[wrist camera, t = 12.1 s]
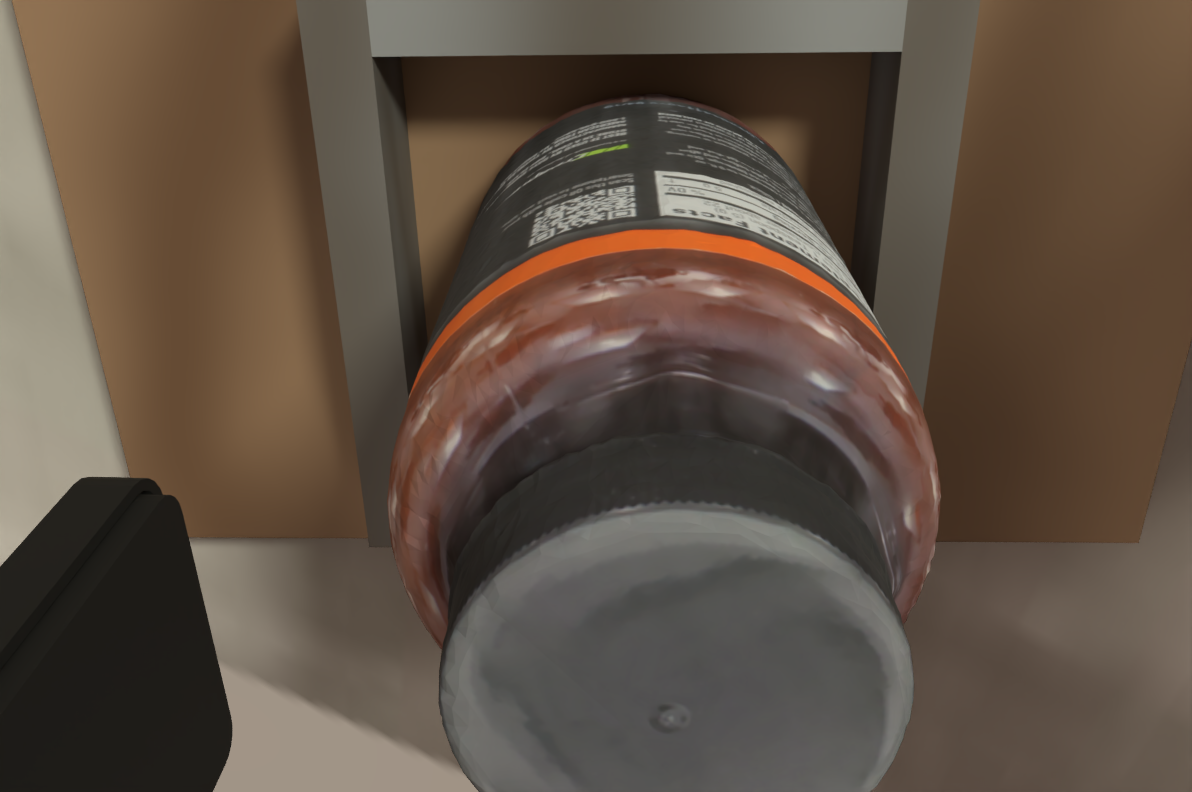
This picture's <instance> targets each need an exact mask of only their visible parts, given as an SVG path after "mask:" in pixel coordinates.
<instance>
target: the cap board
mask: <svg viewBox="0 0 1192 792" xmlns="http://www.w3.org/2000/svg"><path fill="white" fill-rule="evenodd" d="M12 3H13V7H14V11H15V15H16V19H17V23H18V27H19V31H20V35H21V39H22V43H23V47H24V51H25V55H26V59H27V63H28V67H29V71H30V75H31V79H32V83H33V87H34V91H35V95H36V99H37V103H38V107H39V111H40V115H41V119H42V123H43V127H44V131H45V136H46V140H47V144H48V148H49V152H50V156H51V160H52V164H53V168H54V172H55V176H56V180H57V184H58V188H59V192H60V196H61V200H62V204H63V208H64V212H65V216H66V220H67V224H68V228H69V232H70V236H71V240H72V244H73V248H74V252H75V256H76V260H77V264H78V268H79V272H80V276H81V281H82V285H83V289H84V293H85V297H86V301H87V305H88V309H89V313H90V317H91V321H92V325H93V329H94V333H95V337H96V341H97V345H98V349H99V353H100V357H101V361H102V365H103V369H104V373H105V377H106V381H107V385H108V389H109V393H110V397H111V401H112V405H113V409H114V413H115V417H116V421H117V425H118V430H119V434H120V438H121V442H122V446H123V450H124V454H125V458H126V462H127V466H128V470H129V474H130V478H149V479H151V480H153V481H155V482H156V483H157V485H158V486H159V487H160V489H161V491H162V494H163V495H172V496H174V497H176V499H177V500H178V502H179V503H180V506H181V509H182V512H183V516H184V521H185V525H186V529H187V533H188V537H247V538H368V541H369V547H392V545H391V539H390V529H389V518H388V506H387V496H388V487H389V477H390V466H391V461H392V456H393V451H394V447H395V443H396V439H397V435H398V431H399V428H400V425H401V422H402V420H403V417H404V414H405V411H406V407H407V403H408V399H409V395H410V393H411V390H412V387H413V385H414V382H415V379H416V377H417V374H418V372H419V369H420V366H421V362H422V359H423V356H424V353H425V351H426V348H427V346H428V343H429V341H430V338H431V335H432V332H433V330H434V327H435V325H436V322H437V320H438V317H439V314H440V312H441V309H442V306H443V304H444V301H445V299H446V296H447V293H448V291H449V288H450V285H451V283H452V280H453V277H454V274H455V272H456V270H457V267H458V265H459V262H460V259H461V256H462V254H463V251H464V249H465V245H466V242H467V240H468V236H469V233H470V231H471V228H472V226H473V224H474V221H475V219H476V216H477V214H478V211H479V209H480V206H481V203H482V201H483V199H484V197H485V195H486V193H487V192H488V190H489V188H490V187H491V185H492V183H493V181H494V180H495V178H496V176H497V174H498V173H499V171H500V170H501V169H502V168H503V166H504V165H505V164H506V162H507V161H508V159H509V158H510V157H511V156H512V154H513V153H514V152H515V150H516V149H517V148H518V147H519V146H521V145H522V144H523V143H524V142H525V141H526V140H527V139H529V138H530V137H531V136H533V135H534V134H535V133H536V132H537V131H538V130H539V129H540V128H542V127H543V126H545V125H547V124H549V123H550V122H552V121H554V120H555V119H557V118H559V117H560V116H562V115H563V114H565V113H567V112H569V111H571V110H573V109H576V108H579V107H582V106H584V105H587V104H590V103H594V102H597V101H599V100H602V99H608V98H613V97H618V96H625V95H642V94H653V93H658V94H663V95H670V96H677V97H683V98H687V99H689V100H693V101H698V102H701V103H703V104H705V105H708V106H711V107H714V108H716V109H719V110H721V111H724V112H726V113H728V114H730V115H731V116H733V117H735V118H737V119H738V120H740V121H741V122H743V123H744V124H745V125H747V126H748V127H750V128H752V129H753V130H754V131H755V132H756V133H757V134H758V135H759V136H761V137H762V138H763V139H764V140H765V141H766V142H768V143H769V144H770V145H771V146H772V147H773V148H774V149H775V150H776V152H777V153H778V154H779V155H780V156H781V157H782V159H783V160H784V161H785V162H786V164H787V165H788V166H789V167H790V169H791V170H792V171H793V172H794V174H795V176H796V178H797V179H798V181H799V182H800V184H801V186H802V188H803V189H804V191H805V193H806V195H807V197H808V199H809V200H810V202H811V204H812V206H813V207H814V209H815V211H816V213H817V215H818V217H819V219H820V220H821V222H822V224H823V225H824V227H825V229H826V231H827V232H828V234H829V236H830V238H831V240H832V242H833V244H834V246H835V247H836V249H837V251H838V253H839V254H840V256H841V258H842V259H843V261H844V262H845V264H846V266H847V269H848V271H849V272H850V274H851V276H852V277H853V279H854V281H855V283H856V284H857V286H858V288H859V289H860V291H861V293H862V295H863V297H864V299H865V300H866V302H867V304H868V306H869V308H870V309H871V311H872V313H873V315H874V316H875V318H876V320H877V322H878V324H879V326H880V327H881V329H882V331H883V333H884V334H885V336H886V337H887V339H888V341H889V343H890V345H891V348H892V350H893V352H894V353H895V355H896V356H897V358H898V361H899V363H900V365H901V367H902V368H903V370H904V372H905V373H906V375H907V377H908V379H909V381H910V383H911V386H912V388H913V390H914V392H915V394H916V396H917V398H918V400H919V403H920V405H921V407H922V410H923V414H924V417H925V420H926V422H927V425H928V428H929V432H930V436H931V440H932V444H933V448H934V452H935V456H936V460H937V466H938V476H939V481H940V490H941V498H940V514H939V524H938V532H937V536H936V541H935V542H1107V543H1139V540H1140V536H1141V532H1142V528H1143V524H1144V520H1145V516H1146V513H1147V509H1148V505H1149V501H1150V497H1151V493H1152V490H1153V486H1154V482H1155V478H1156V474H1157V470H1158V467H1159V463H1160V459H1161V455H1162V451H1163V447H1164V443H1165V440H1166V436H1167V432H1168V428H1169V424H1170V420H1171V417H1172V413H1173V409H1174V405H1175V401H1176V397H1177V393H1178V390H1179V386H1180V382H1181V378H1182V374H1183V370H1184V367H1185V363H1186V359H1187V355H1188V351H1189V347H1190V343H1191V340H1192V0H12Z"/></svg>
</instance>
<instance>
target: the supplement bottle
mask: <svg viewBox="0 0 1192 792" xmlns="http://www.w3.org/2000/svg"><path fill="white" fill-rule="evenodd" d="M940 498H941V490H940V481H939V476H938V466H937V460H936V456H935V452H934V448H933V444H932V440H931V436H930V432H929V428H928V425H927V422H926V420H925V417H924V414H923V410H922V407H921V405H920V403H919V400H918V398H917V396H916V394H915V392H914V390H913V388H912V386H911V383H910V381H909V379H908V377H907V375H906V373H905V372H904V370H903V368H902V367H901V365H900V363H899V361H898V358H897V356H896V355H895V353H894V352H893V350H892V348H891V345H890V343H889V341H888V339H887V337H886V336H885V334H884V333H883V331H882V329H881V327H880V326H879V324H878V322H877V320H876V318H875V316H874V315H873V313H872V311H871V309H870V308H869V306H868V304H867V302H866V300H865V299H864V297H863V295H862V293H861V291H860V289H859V288H858V286H857V284H856V283H855V281H854V279H853V277H852V276H851V274H850V272H849V271H848V269H847V266H846V264H845V262H844V261H843V259H842V258H841V256H840V254H839V253H838V251H837V249H836V247H835V246H834V244H833V242H832V240H831V238H830V236H829V234H828V232H827V231H826V229H825V227H824V225H823V224H822V222H821V220H820V219H819V217H818V215H817V213H816V211H815V209H814V207H813V206H812V204H811V202H810V200H809V199H808V197H807V195H806V193H805V191H804V189H803V188H802V186H801V184H800V182H799V181H798V179H797V178H796V176H795V174H794V172H793V171H792V170H791V169H790V167H789V166H788V165H787V164H786V162H785V161H784V160H783V159H782V157H781V156H780V155H779V154H778V153H777V152H776V150H775V149H774V148H773V147H772V146H771V145H770V144H769V143H768V142H766V141H765V140H764V139H763V138H762V137H761V136H759V135H758V134H757V133H756V132H755V131H754V130H753V129H752V128H750V127H748V126H747V125H745V124H744V123H743V122H741V121H740V120H738V119H737V118H735V117H733V116H731V115H730V114H728V113H726V112H724V111H721V110H719V109H716V108H714V107H711V106H708V105H705V104H703V103H701V102H698V101H693V100H689V99H687V98H683V97H677V96H670V95H663V94H658V93H653V94H642V95H625V96H618V97H613V98H608V99H602V100H599V101H597V102H594V103H590V104H587V105H584V106H582V107H579V108H576V109H573V110H571V111H569V112H567V113H565V114H563V115H562V116H560V117H559V118H557V119H555V120H554V121H552V122H550V123H549V124H547V125H545V126H543V127H542V128H540V129H539V130H538V131H537V132H536V133H535V134H534V135H533V136H531V137H530V138H529V139H527V140H526V141H525V142H524V143H523V144H522V145H521V146H519V147H518V148H517V149H516V150H515V152H514V153H513V154H512V156H511V157H510V158H509V159H508V161H507V162H506V164H505V165H504V166H503V168H502V169H501V170H500V171H499V173H498V174H497V176H496V178H495V180H494V181H493V183H492V185H491V187H490V188H489V190H488V192H487V193H486V195H485V197H484V199H483V201H482V203H481V206H480V209H479V211H478V214H477V216H476V219H475V221H474V224H473V226H472V228H471V231H470V233H469V236H468V240H467V242H466V245H465V249H464V251H463V254H462V256H461V259H460V262H459V265H458V267H457V270H456V272H455V274H454V277H453V280H452V283H451V285H450V288H449V291H448V293H447V296H446V299H445V301H444V304H443V306H442V309H441V312H440V314H439V317H438V320H437V322H436V325H435V327H434V330H433V332H432V335H431V338H430V341H429V343H428V346H427V348H426V351H425V353H424V356H423V359H422V362H421V366H420V369H419V372H418V374H417V377H416V379H415V382H414V385H413V387H412V390H411V393H410V395H409V399H408V403H407V407H406V411H405V414H404V417H403V420H402V422H401V425H400V428H399V431H398V435H397V439H396V443H395V447H394V451H393V456H392V461H391V466H390V477H389V487H388V496H387V506H388V518H389V529H390V539H391V545H392V549H393V553H394V557H395V560H396V564H397V567H398V571H399V574H400V576H401V579H402V581H403V584H404V587H405V589H406V592H407V594H408V596H409V598H410V600H411V602H412V604H413V606H414V609H415V610H416V612H417V614H418V615H419V617H420V619H421V620H422V622H423V624H424V626H425V627H426V629H427V630H428V632H429V633H430V634H431V636H432V637H433V639H434V640H435V642H436V643H437V644H438V645H439V647H440V648H441V649H442V655H441V662H440V670H439V707H440V714H441V716H442V722H443V727H444V730H445V732H446V735H447V738H448V741H449V744H450V746H451V749H452V752H453V754H454V756H455V757H456V759H457V761H458V763H459V765H460V767H461V769H462V771H463V772H464V774H465V775H466V776H467V778H468V779H469V780H470V781H471V783H472V784H473V785H474V786H475V788H476V789H477V790H478V791H479V792H871V791H872V790H873V789H874V788H875V787H876V786H877V785H878V783H879V782H880V781H881V779H882V778H883V776H884V775H885V773H886V772H887V770H888V769H889V767H890V766H891V764H892V762H893V760H894V758H895V756H896V753H897V751H898V749H899V747H900V744H901V742H902V740H903V737H904V734H905V730H906V726H907V724H908V722H909V721H910V716H911V707H912V703H913V695H914V680H913V665H912V658H911V651H910V645H909V642H908V640H907V637H906V634H905V631H904V628H903V624H904V623H905V622H906V620H907V616H908V614H909V612H910V610H911V609H912V607H913V606H914V605H915V604H916V601H917V599H918V596H919V594H920V592H921V590H922V587H923V583H924V581H925V578H926V576H927V574H928V572H929V571H930V564H931V560H932V558H933V556H934V553H935V541H936V536H937V532H938V524H939V514H940Z"/></svg>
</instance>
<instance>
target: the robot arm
mask: <svg viewBox="0 0 1192 792" xmlns="http://www.w3.org/2000/svg"><path fill="white" fill-rule="evenodd" d="M231 741H232V720H231V715H230V710H229V707H228V702H227V698H226V694H225V689H224V685H223V681H222V677H221V672H220V668H219V664H218V660H217V656H216V651H215V647H214V643H213V639H212V634H211V630H210V626H209V622H208V618H207V613H206V609H205V605H204V601H203V596H202V592H201V588H200V584H199V580H198V575H197V571H196V567H195V563H194V559H193V554H192V550H191V546H190V542H189V537H188V533H187V529H186V525H185V521H184V516H183V512H182V509H181V506H180V503H179V502H178V500H177V499H176V497H174V496H172V495H163V494H162V491H161V489H160V487H159V486H158V485H157V483H156V482H155V481H153V480H151V479H149V478H121V477H86V478H81V479H80V480H79V481H78V482H76V483H75V484H74V485H73V486H72V487H71V488H70V489H69V490H68V491H67V493H66V494H65V495H64V496H63V497H62V498H61V499H60V500H59V502H58V503H57V504H56V505H55V506H54V507H53V508H52V509H51V510H50V512H49V513H48V514H47V515H46V516H45V517H44V518H43V519H42V521H41V522H40V523H39V524H38V525H37V526H36V527H35V528H34V530H33V531H32V532H31V533H30V534H29V535H28V536H27V537H26V539H25V540H24V541H23V542H22V543H21V544H20V545H19V546H18V547H17V549H16V550H15V551H14V552H13V553H12V554H11V555H10V556H9V558H8V559H7V560H6V561H5V562H4V563H3V564H2V565H1V567H0V792H213V790H214V788H215V786H216V783H217V781H218V779H219V777H220V775H221V773H222V771H223V768H224V766H225V764H226V761H227V759H228V756H229V752H230V747H231Z"/></svg>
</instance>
